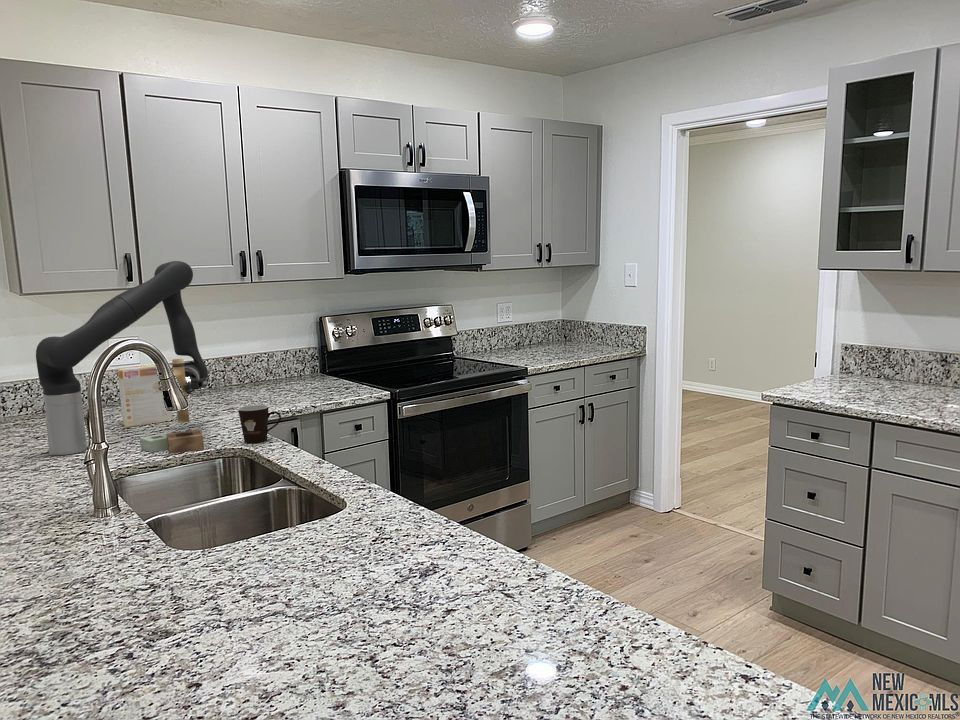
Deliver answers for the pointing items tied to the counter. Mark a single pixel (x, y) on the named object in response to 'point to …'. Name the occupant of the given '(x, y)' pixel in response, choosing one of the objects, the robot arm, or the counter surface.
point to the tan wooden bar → (180, 376)
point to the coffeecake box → (141, 396)
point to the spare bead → (154, 443)
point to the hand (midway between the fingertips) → (179, 388)
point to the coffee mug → (255, 423)
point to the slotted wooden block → (185, 441)
